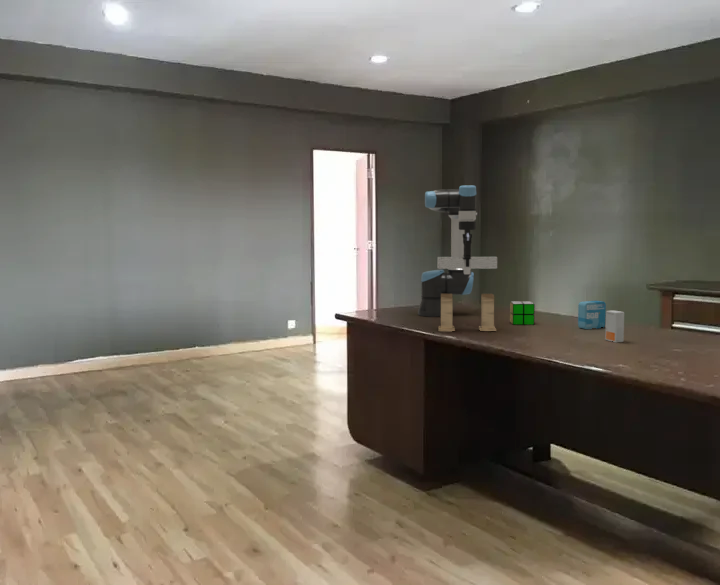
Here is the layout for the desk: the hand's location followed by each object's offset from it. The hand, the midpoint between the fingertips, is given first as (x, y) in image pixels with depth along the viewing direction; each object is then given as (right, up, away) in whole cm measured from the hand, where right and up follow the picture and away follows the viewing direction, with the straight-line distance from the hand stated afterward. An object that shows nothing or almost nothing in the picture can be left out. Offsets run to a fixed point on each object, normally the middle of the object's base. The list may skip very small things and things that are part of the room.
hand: (466, 273), depth 299 cm
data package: (+57, -25, +4) cm, 62 cm away
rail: (0, +2, 0) cm, 2 cm away
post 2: (+9, -25, 0) cm, 27 cm away
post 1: (-9, -25, +2) cm, 27 cm away
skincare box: (+54, -28, -30) cm, 68 cm away
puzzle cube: (+29, -23, +20) cm, 42 cm away
